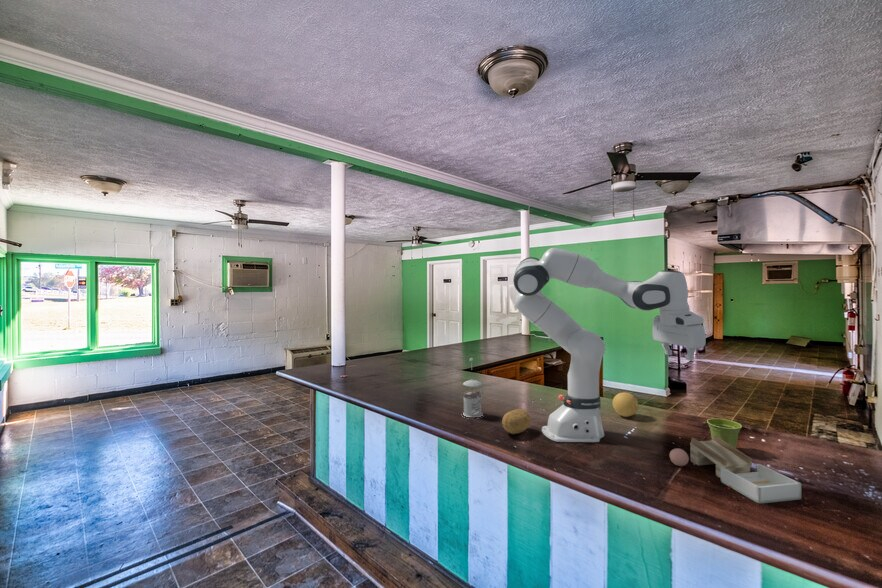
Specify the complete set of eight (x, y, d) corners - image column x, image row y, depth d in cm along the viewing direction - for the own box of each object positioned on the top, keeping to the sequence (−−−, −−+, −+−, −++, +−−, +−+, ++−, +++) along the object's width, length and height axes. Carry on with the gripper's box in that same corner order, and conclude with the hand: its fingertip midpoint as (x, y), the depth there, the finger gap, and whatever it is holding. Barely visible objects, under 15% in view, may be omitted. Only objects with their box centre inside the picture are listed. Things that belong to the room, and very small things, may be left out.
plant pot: (749, 454, 124) (749, 427, 124) (722, 455, 123) (721, 428, 123) (726, 442, 133) (726, 417, 133) (700, 444, 133) (700, 419, 133)
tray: (758, 503, 96) (758, 487, 96) (720, 481, 107) (720, 467, 107) (801, 499, 98) (801, 483, 98) (759, 477, 109) (759, 463, 109)
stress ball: (614, 420, 161) (631, 409, 154) (603, 398, 167) (620, 387, 160) (630, 420, 165) (648, 410, 158) (620, 399, 171) (636, 388, 164)
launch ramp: (724, 480, 108) (724, 454, 108) (690, 460, 120) (689, 437, 120) (752, 477, 109) (752, 451, 109) (716, 458, 121) (715, 435, 121)
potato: (494, 435, 145) (494, 414, 145) (513, 424, 156) (512, 405, 156) (518, 441, 139) (517, 419, 138) (535, 430, 149) (535, 409, 149)
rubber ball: (677, 469, 115) (677, 453, 115) (665, 462, 120) (665, 446, 120) (692, 468, 115) (692, 451, 115) (680, 461, 120) (680, 445, 120)
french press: (456, 415, 168) (455, 358, 168) (472, 409, 177) (471, 354, 177) (475, 420, 162) (474, 360, 162) (490, 413, 171) (489, 356, 170)
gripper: (646, 316, 141) (649, 353, 142) (690, 321, 121) (694, 364, 122) (661, 313, 142) (665, 350, 143) (707, 318, 122) (711, 361, 122)
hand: (678, 357), depth 132 cm, fingers open, 8 cm apart
